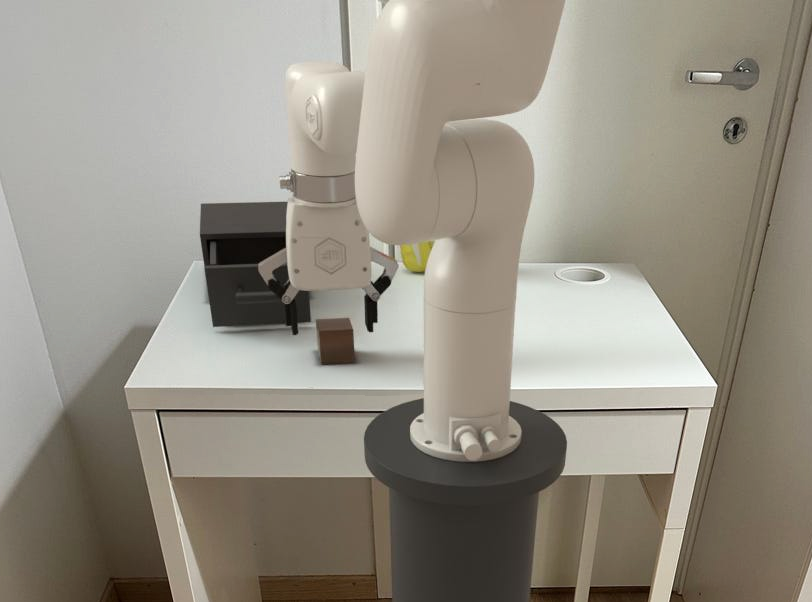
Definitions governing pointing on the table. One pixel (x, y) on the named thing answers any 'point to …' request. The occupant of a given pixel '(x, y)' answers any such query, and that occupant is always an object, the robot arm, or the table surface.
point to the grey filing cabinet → (240, 222)
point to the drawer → (248, 284)
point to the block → (335, 340)
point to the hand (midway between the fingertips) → (332, 329)
